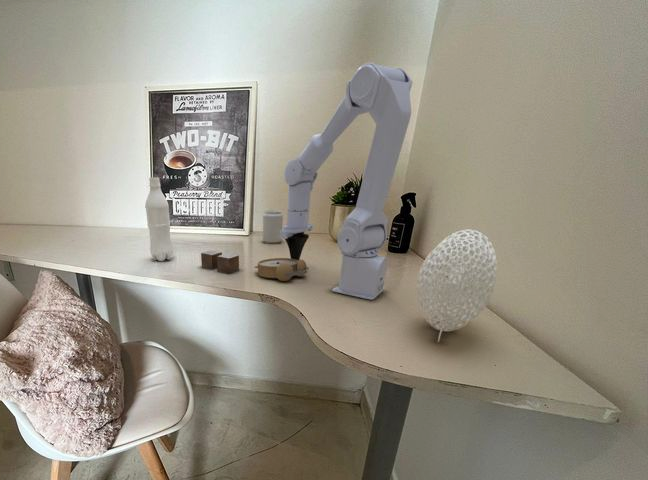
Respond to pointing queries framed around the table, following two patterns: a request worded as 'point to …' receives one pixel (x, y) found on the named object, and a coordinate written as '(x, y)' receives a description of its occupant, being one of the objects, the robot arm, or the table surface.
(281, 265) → the alarm clock
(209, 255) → the walnut block far
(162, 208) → the water bottle
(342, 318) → the table surface
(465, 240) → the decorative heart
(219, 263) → the walnut block near
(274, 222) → the can
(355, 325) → the table surface
